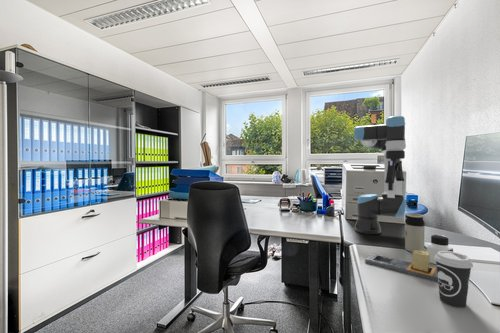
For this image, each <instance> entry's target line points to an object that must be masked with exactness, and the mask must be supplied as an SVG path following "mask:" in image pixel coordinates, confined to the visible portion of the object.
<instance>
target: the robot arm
mask: <svg viewBox="0 0 500 333" xmlns="http://www.w3.org/2000/svg"><path fill="white" fill-rule="evenodd" d="M385 120H386V121H385V124H375V125H374V124H373V125H360V126H359V125H358V126H355V127H354V129H353V137H354V141H359V142H360V143H361V145H362V146H363V147H365V148H367V149H371V150H381V153H382V154H383V155H384V156H383V157H384V161H383V162H384V176H383V177H384V184H383V185H384V187H383V188H384V189H383V190H384V191H383V192H382V193H381V196H379V195H378V194H375V193H372V194H371V193H370V194H369V193H368V194H367V193H366V194H361V195H358V197H357V220H356V222H355V225H354V231H355V232H358V233H360V234H366V235H378V234H381V232H382V228H381V225H380V222H379V219H378V218H379V217H389V218H403V217H404V216H405V213H406V207H407V198H406V197H404V194H403V182H404V181H405V179H404V171H403V165H402V162H403V161H402V159H405V157H406V151H405V149H406V147H407V145H406V138H405V137H406V136H405V134H406V133H405V132H406V122H405V121H406V119H405V117H404V116H403V115H402V116H401V115H394V116H388V117H387V118H386V119H385Z"/></svg>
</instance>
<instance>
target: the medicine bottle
mask: <svg viewBox="0 0 500 333" xmlns="http://www.w3.org/2000/svg"><path fill="white" fill-rule="evenodd" d="M426 251H427V252H430V264H434V265H436V260H435V259H434V257H435V255H436V254H437V252H439V251H451V252H454V248H453V247H451V246H449V238H448V237H447V236H446V235H442V234H433V235H432V234H431V236H430V244H429V245H427V246H426Z"/></svg>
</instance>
